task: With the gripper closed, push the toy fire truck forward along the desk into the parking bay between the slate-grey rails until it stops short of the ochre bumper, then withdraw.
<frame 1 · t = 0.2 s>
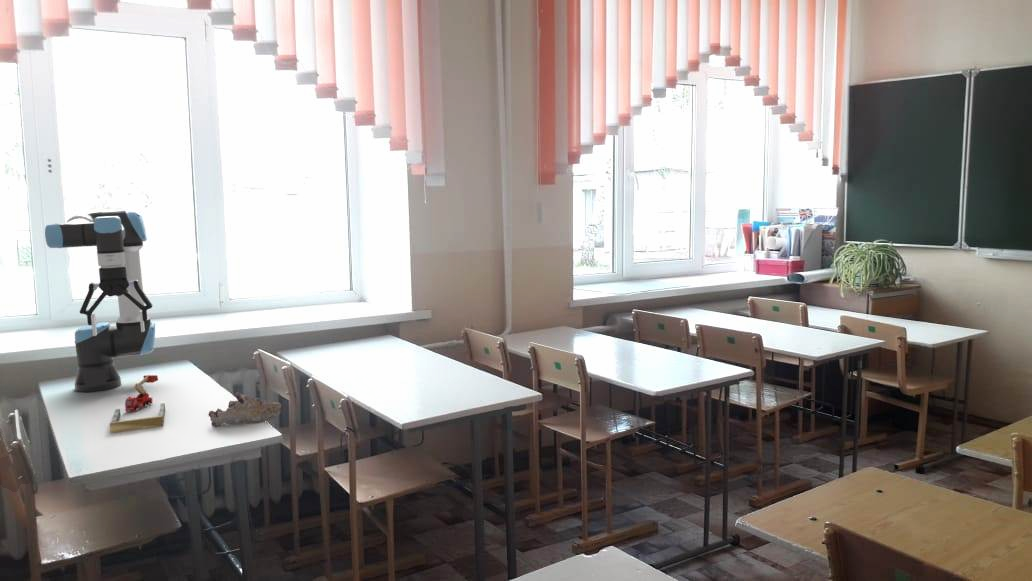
hand: (119, 333, 243), 27 cm above the table, fingers open, 13 cm apart
parking bay: (139, 420, 244), on the table
mineral specimen: (246, 423, 239), on the table
toy fire truck: (142, 407, 259), on the table
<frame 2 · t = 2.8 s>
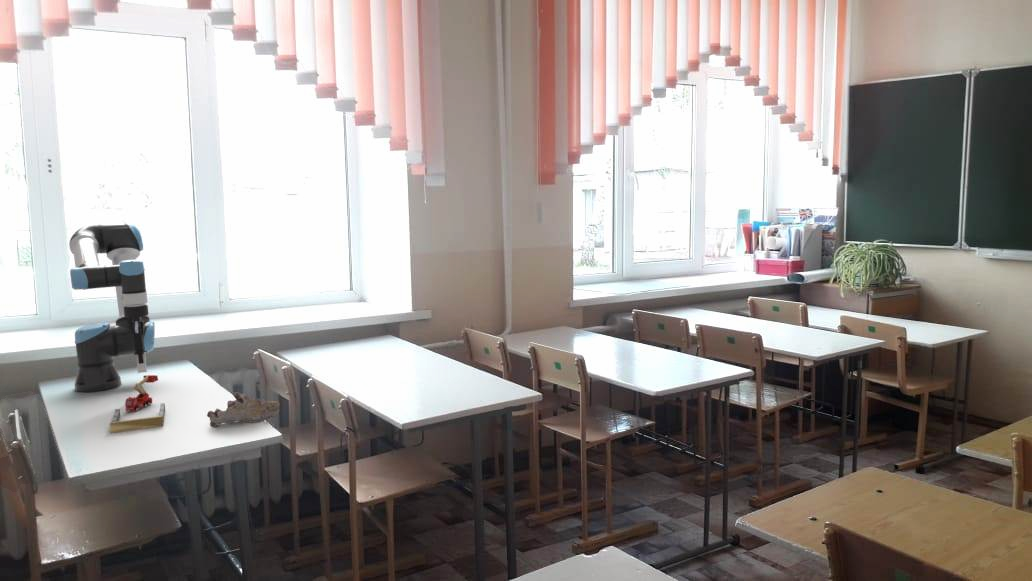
hand: (142, 371, 269), 9 cm above the table, fingers closed
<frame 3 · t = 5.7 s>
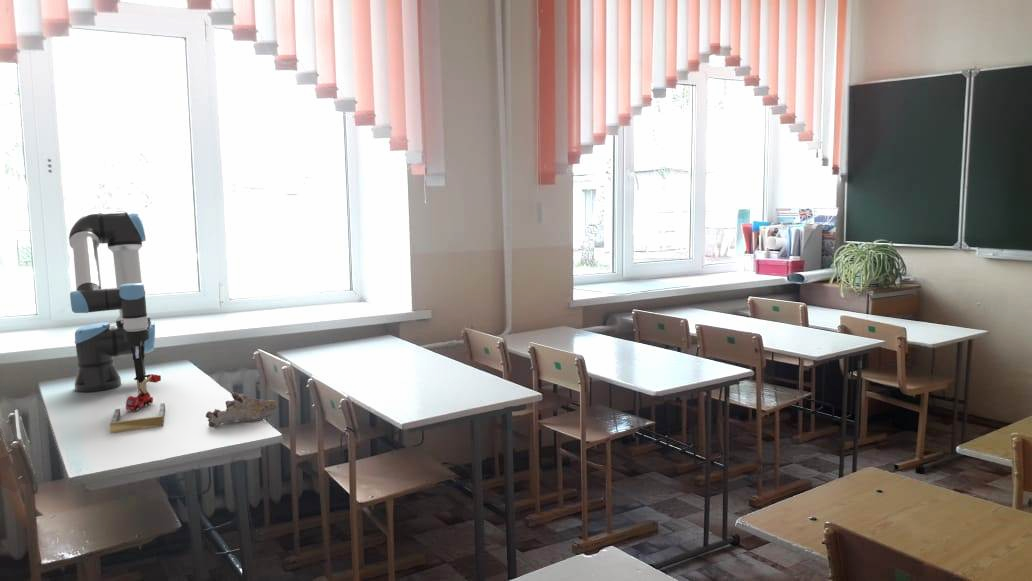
hand: (143, 397, 263), 2 cm above the table, fingers closed
toy fire truck: (142, 406, 259), on the table, touching gripper
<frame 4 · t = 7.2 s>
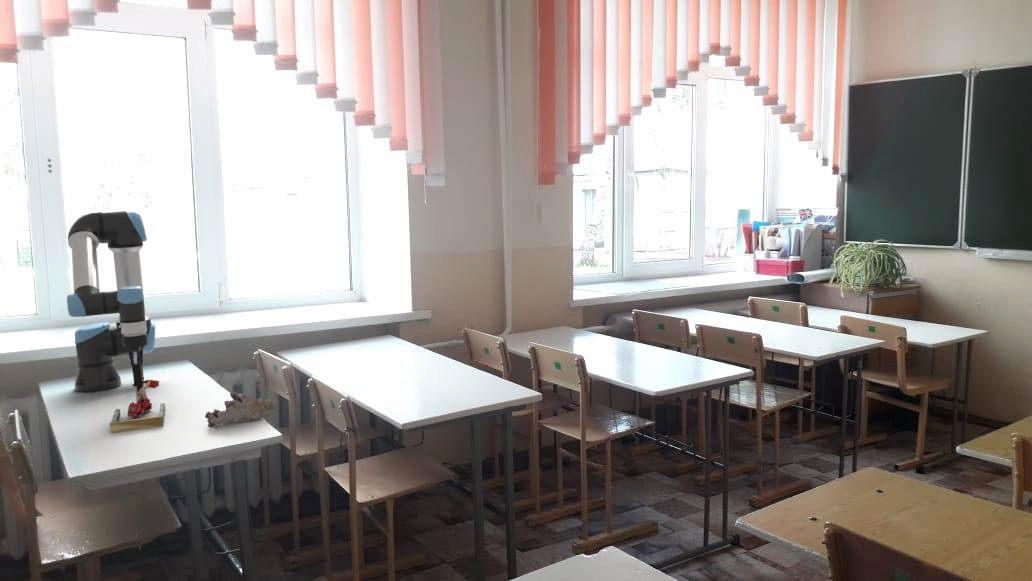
hand: (141, 404, 255), 2 cm above the table, fingers closed
toy fire truck: (142, 413, 252), on the table, touching gripper
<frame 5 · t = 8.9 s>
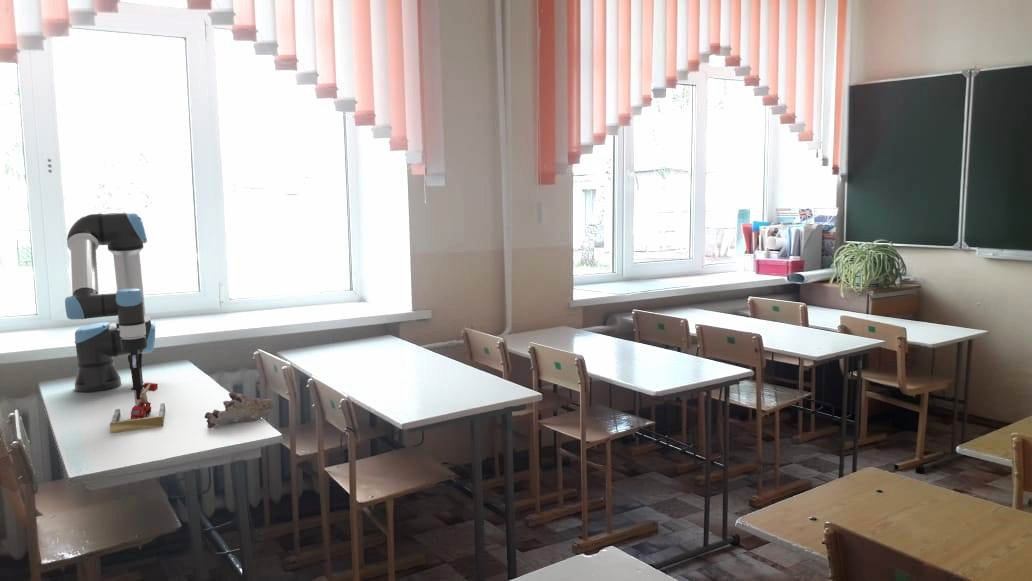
hand: (140, 408, 251), 2 cm above the table, fingers closed
toy fire truck: (142, 416, 248), on the table, touching gripper
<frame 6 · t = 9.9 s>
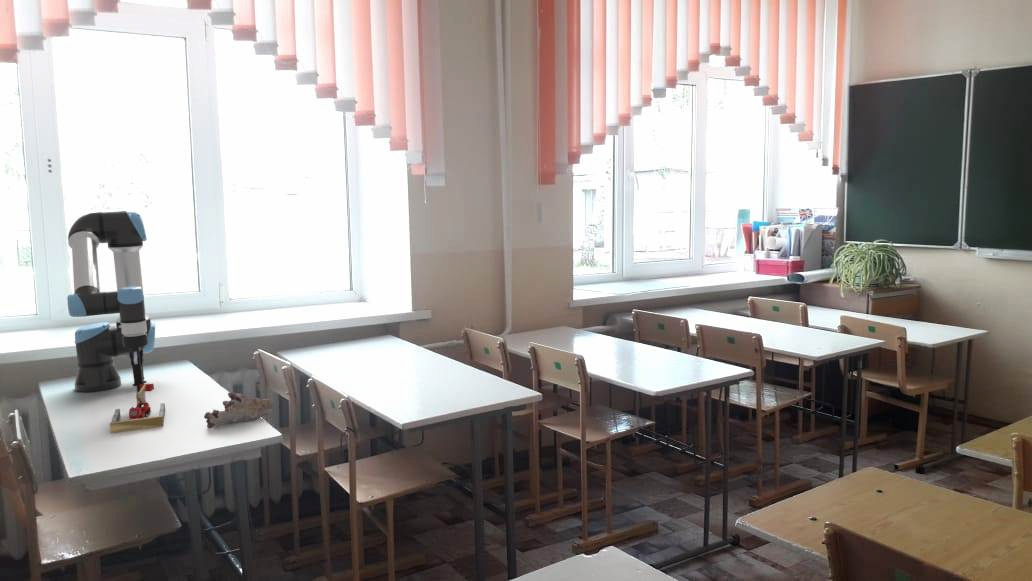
hand: (141, 403, 256), 2 cm above the table, fingers closed
toy fire truck: (142, 417, 248), on the table
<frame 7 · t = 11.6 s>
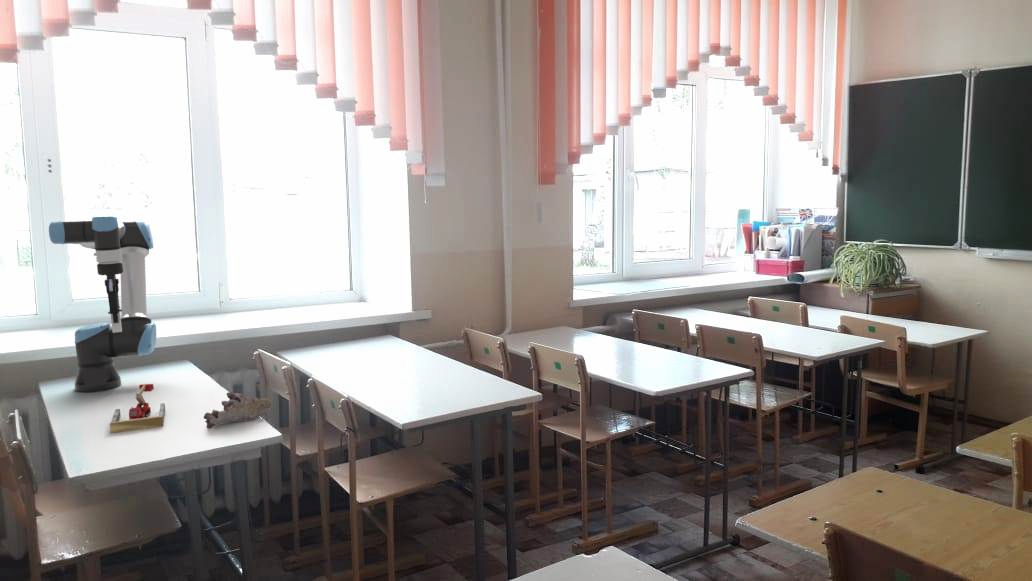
hand: (117, 331, 259), 25 cm above the table, fingers closed
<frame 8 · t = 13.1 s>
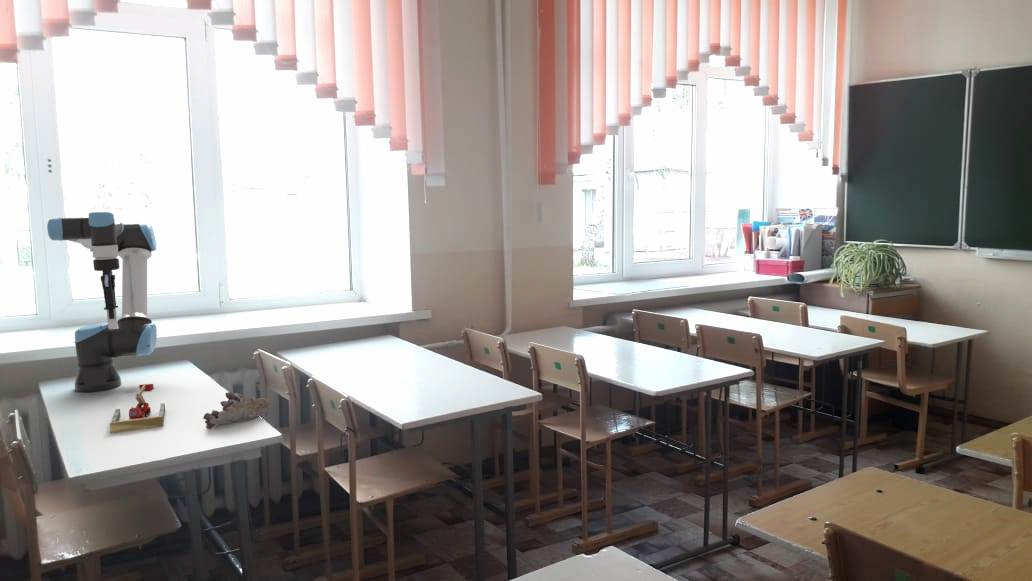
hand: (113, 327, 259), 26 cm above the table, fingers closed
at the end: toy fire truck inside the target area on the parking bay (3.8 cm from its centre), point 0.0 cm above the parking bay's base; toy fire truck tilted 0°; toy fire truck moved 13.0 cm from its start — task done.
